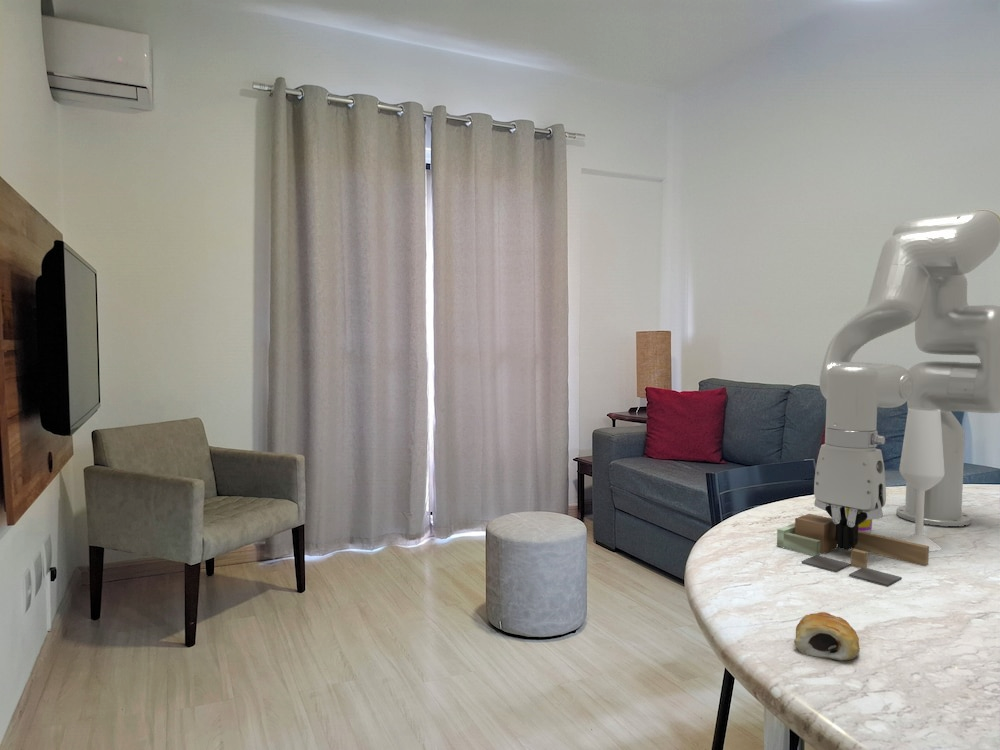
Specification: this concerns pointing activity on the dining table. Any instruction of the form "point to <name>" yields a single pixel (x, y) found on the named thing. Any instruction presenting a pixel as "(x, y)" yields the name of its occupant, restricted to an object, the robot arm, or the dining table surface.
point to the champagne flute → (922, 462)
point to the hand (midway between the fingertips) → (846, 547)
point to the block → (817, 530)
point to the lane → (857, 553)
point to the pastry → (826, 637)
